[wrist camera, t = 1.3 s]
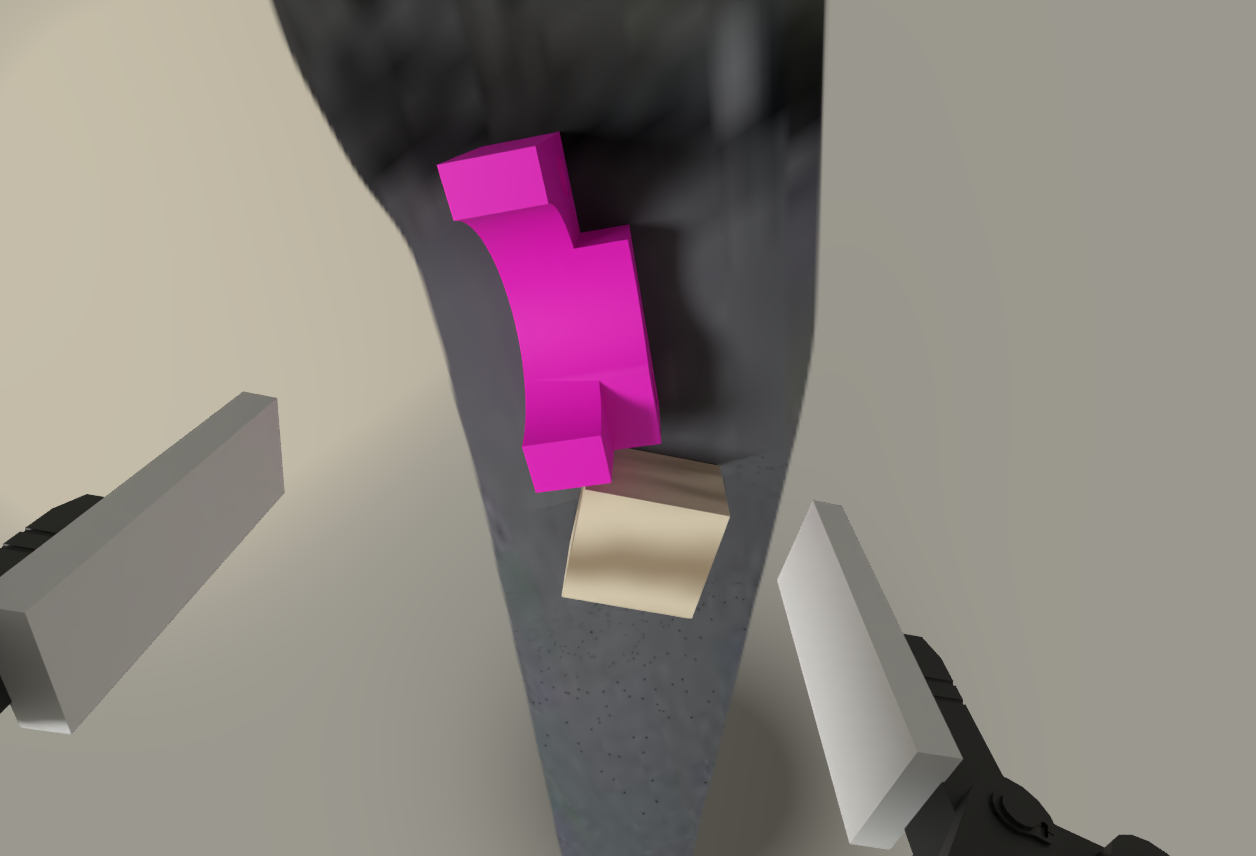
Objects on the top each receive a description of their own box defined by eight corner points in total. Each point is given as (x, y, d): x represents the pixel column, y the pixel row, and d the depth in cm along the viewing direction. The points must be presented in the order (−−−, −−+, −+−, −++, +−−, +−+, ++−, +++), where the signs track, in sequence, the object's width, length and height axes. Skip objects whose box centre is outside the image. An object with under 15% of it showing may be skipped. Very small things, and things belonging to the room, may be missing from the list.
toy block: (659, 404, 36) (662, 476, 29) (555, 418, 36) (536, 492, 30) (612, 121, 28) (602, 133, 22) (483, 146, 29) (436, 164, 22)
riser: (591, 441, 37) (585, 489, 32) (719, 465, 37) (729, 516, 33) (570, 541, 41) (561, 596, 36) (686, 562, 41) (691, 618, 37)
